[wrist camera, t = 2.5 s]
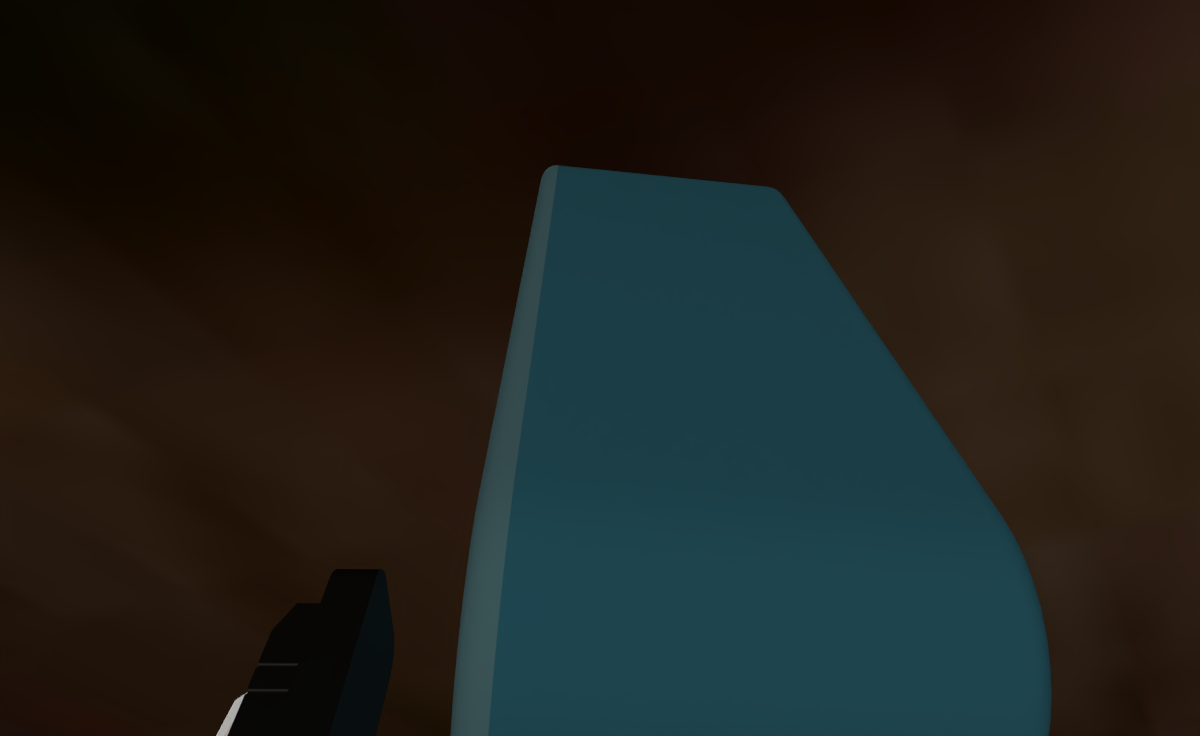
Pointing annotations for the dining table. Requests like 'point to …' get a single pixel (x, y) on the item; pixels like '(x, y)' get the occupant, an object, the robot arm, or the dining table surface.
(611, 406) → the data package
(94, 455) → the dining table surface
